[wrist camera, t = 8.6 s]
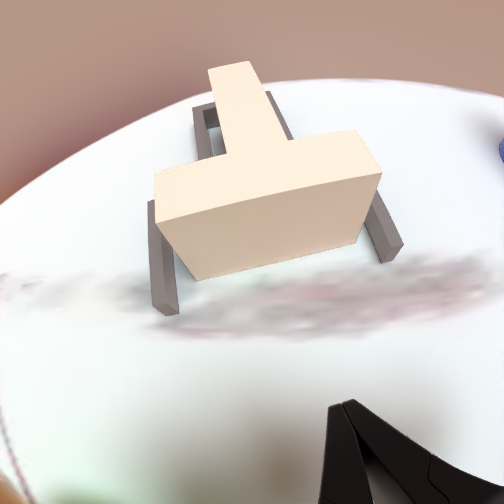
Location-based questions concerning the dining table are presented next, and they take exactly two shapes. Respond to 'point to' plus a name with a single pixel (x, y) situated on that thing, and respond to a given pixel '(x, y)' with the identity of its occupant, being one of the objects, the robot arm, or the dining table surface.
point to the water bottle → (502, 150)
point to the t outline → (206, 118)
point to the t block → (263, 187)
